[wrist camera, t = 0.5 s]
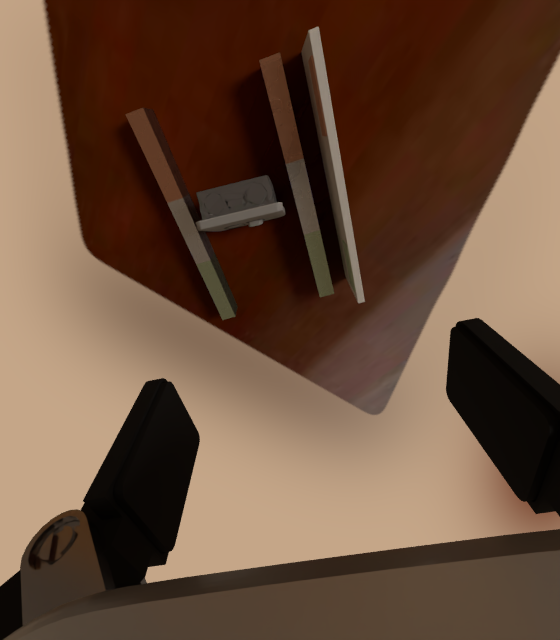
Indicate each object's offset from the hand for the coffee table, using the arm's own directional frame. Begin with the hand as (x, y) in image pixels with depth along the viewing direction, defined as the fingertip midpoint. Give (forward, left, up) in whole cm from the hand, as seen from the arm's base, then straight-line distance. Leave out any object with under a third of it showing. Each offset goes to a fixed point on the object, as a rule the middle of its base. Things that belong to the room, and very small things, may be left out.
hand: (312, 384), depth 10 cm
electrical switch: (-1, -5, -34) cm, 34 cm away
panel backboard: (0, +6, -33) cm, 34 cm away
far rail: (0, -12, -33) cm, 35 cm away
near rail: (0, +2, -33) cm, 33 cm away
